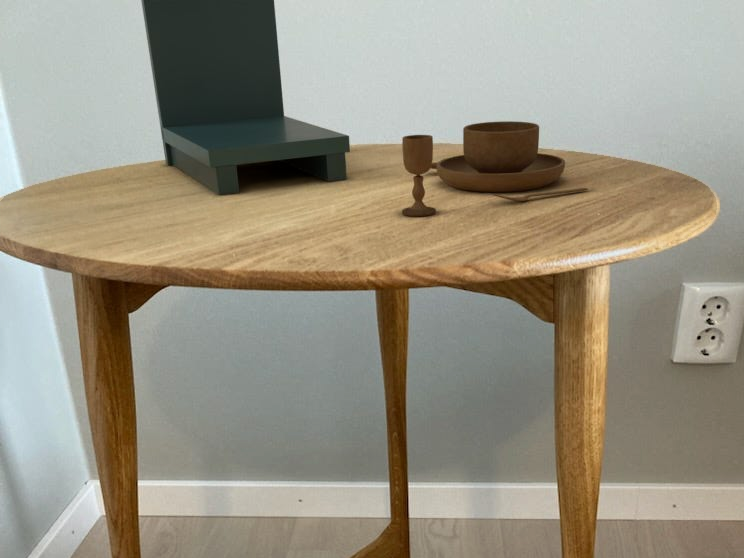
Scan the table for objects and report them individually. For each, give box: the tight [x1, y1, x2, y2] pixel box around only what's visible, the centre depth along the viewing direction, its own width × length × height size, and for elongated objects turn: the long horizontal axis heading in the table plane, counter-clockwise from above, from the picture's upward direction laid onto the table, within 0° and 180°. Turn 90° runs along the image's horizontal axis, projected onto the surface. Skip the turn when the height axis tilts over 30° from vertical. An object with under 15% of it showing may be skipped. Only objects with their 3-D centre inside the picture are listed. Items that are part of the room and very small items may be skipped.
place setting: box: [401, 120, 589, 217], centre depth 83 cm, size 18×20×6 cm
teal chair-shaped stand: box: [140, 0, 351, 196], centre depth 91 cm, size 21×14×22 cm, turn 24°
